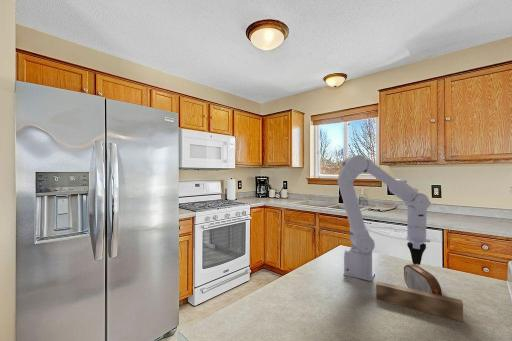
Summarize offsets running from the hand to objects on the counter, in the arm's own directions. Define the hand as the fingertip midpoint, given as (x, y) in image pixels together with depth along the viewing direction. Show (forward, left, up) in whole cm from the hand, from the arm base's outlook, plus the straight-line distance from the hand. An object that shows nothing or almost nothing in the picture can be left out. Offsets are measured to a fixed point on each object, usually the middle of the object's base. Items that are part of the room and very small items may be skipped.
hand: (416, 263), depth 88 cm
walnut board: (0, -23, -5) cm, 24 cm away
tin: (+1, -15, -5) cm, 16 cm away
